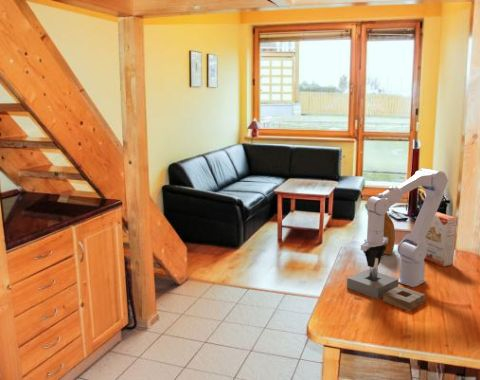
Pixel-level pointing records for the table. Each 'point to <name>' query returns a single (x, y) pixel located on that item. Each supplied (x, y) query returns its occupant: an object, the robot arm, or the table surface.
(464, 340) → the table surface
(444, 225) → the cracker box
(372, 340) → the table surface
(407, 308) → the socket block
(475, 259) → the table surface
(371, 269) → the metal peg
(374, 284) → the grey square hole plate
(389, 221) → the coffee package
